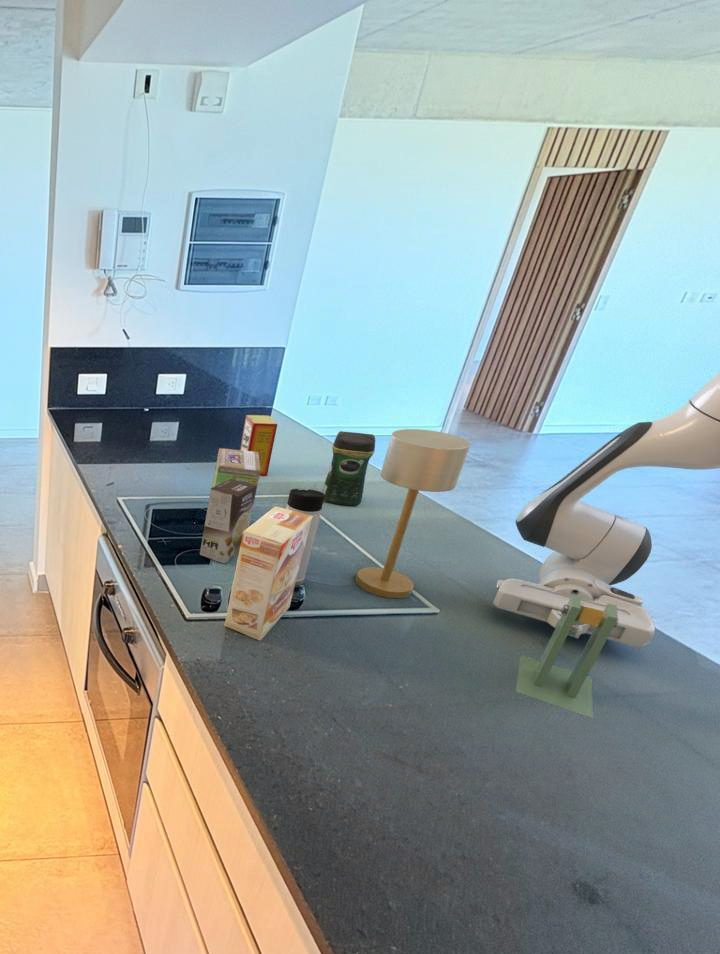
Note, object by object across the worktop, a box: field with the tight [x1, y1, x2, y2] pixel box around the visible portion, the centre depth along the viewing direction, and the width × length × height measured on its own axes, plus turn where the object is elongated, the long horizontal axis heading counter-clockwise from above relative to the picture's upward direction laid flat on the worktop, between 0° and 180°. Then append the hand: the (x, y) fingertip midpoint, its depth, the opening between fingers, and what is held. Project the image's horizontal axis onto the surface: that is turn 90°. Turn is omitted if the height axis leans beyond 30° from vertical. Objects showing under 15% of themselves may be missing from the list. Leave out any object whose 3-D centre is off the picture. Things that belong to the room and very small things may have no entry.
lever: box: [573, 603, 604, 627], centre depth 94 cm, size 13×4×4 cm, turn 140°
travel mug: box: [285, 488, 325, 586], centre depth 123 cm, size 6×7×20 cm
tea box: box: [211, 447, 261, 488], centre depth 155 cm, size 15×10×15 cm
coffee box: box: [199, 479, 258, 565], centre depth 134 cm, size 9×6×16 cm
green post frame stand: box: [515, 594, 619, 719], centre depth 93 cm, size 12×9×16 cm
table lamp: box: [355, 428, 471, 599], centre depth 118 cm, size 12×12×31 cm
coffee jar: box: [321, 430, 376, 506], centre depth 160 cm, size 10×8×19 cm
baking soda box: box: [239, 414, 278, 477], centre depth 182 cm, size 10×6×16 cm
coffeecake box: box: [224, 505, 313, 641], centre depth 111 cm, size 15×7×20 cm, turn 137°
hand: (568, 631), depth 100 cm, fingers closed
